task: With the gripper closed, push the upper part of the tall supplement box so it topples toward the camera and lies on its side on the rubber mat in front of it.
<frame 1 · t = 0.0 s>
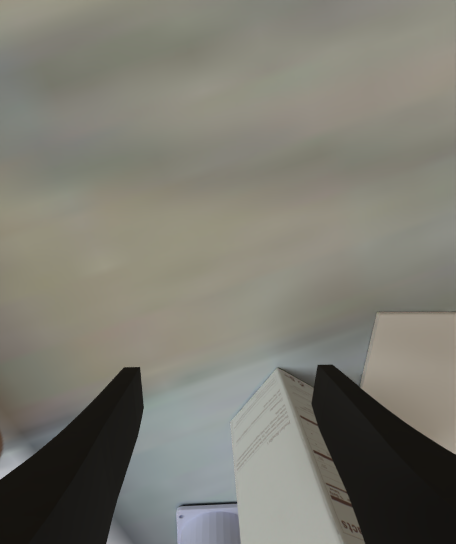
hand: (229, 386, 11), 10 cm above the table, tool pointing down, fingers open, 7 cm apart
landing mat: (426, 407, 26), on the table
supplement box: (283, 408, 25), on the table
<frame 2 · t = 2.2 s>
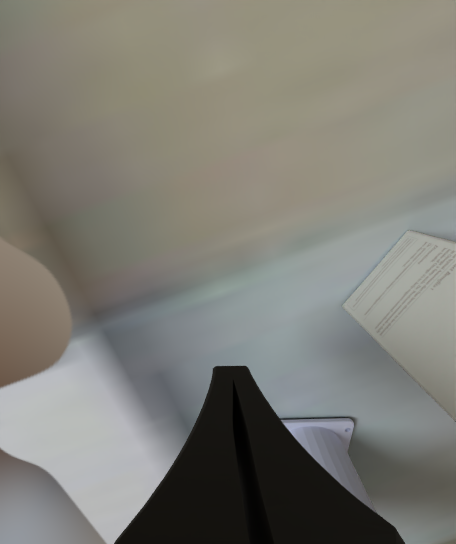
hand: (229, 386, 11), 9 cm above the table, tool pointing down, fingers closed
supplement box: (404, 291, 21), on the table
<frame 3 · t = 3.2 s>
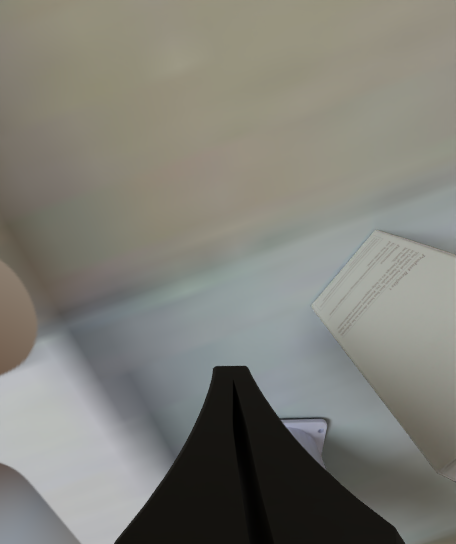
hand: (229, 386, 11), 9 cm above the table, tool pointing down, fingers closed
supplement box: (374, 291, 21), on the table
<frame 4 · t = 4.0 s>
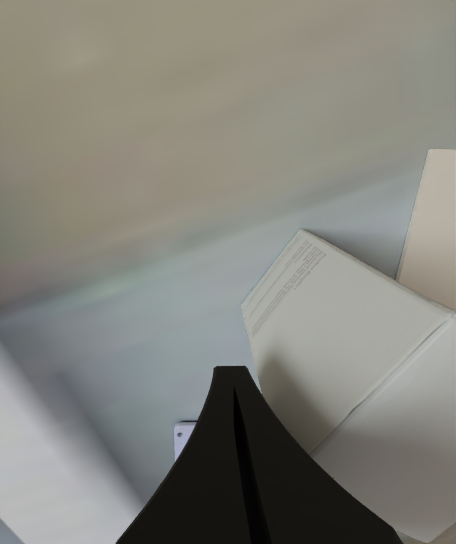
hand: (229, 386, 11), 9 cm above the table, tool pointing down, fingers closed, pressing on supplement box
supplement box: (306, 291, 21), on the table, touching gripper
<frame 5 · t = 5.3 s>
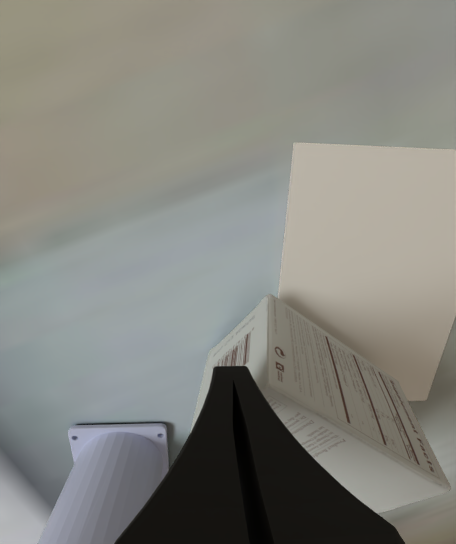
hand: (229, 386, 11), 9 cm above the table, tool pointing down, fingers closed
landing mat: (370, 293, 21), on the table
supplement box: (227, 359, 17), point 4 cm above the table, touching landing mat
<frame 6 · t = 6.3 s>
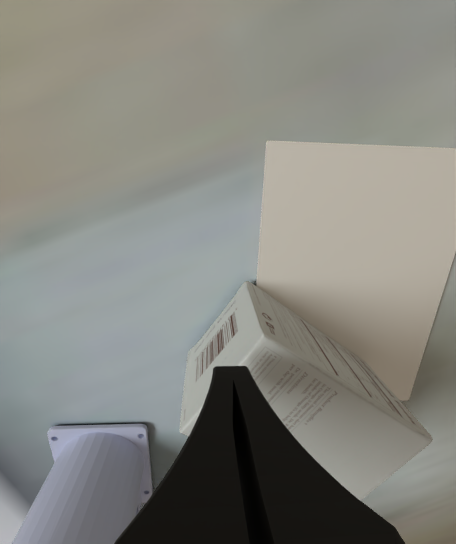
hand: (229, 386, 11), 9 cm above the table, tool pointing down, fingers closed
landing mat: (348, 292, 21), on the table
supplement box: (213, 341, 17), point 4 cm above the table, touching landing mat
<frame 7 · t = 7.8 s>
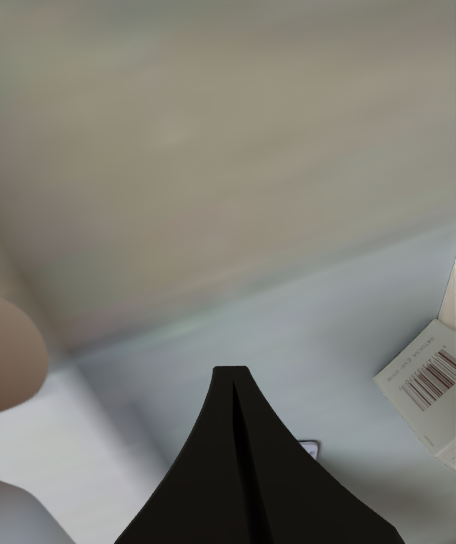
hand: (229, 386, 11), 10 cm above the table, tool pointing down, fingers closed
supplement box: (431, 375, 20), point 4 cm above the table, touching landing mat
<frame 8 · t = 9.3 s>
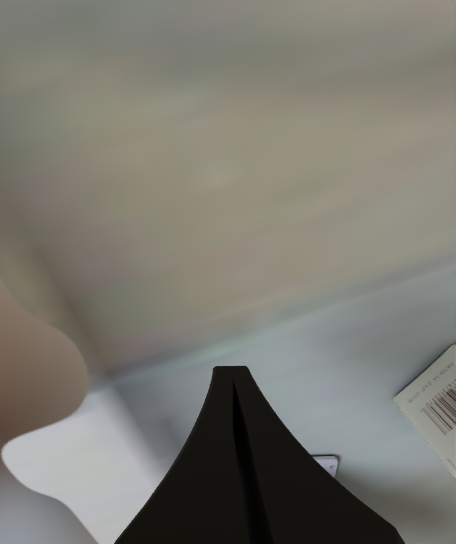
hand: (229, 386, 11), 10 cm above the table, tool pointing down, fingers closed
supplement box: (451, 400, 21), point 4 cm above the table, touching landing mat
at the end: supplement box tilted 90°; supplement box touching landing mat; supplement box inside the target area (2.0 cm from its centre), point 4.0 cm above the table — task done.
